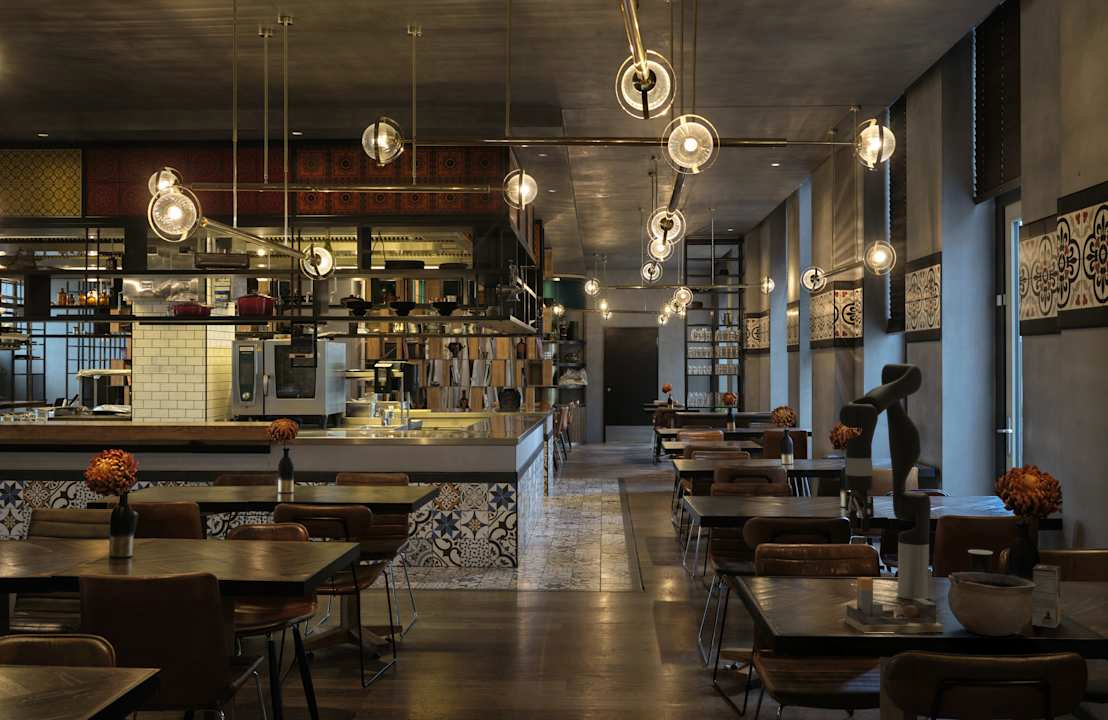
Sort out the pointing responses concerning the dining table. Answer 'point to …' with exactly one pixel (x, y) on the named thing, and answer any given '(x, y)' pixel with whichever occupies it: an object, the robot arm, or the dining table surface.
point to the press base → (897, 620)
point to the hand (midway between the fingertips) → (859, 529)
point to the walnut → (910, 611)
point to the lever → (867, 599)
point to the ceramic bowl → (990, 602)
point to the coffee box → (1046, 595)
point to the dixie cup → (980, 560)
